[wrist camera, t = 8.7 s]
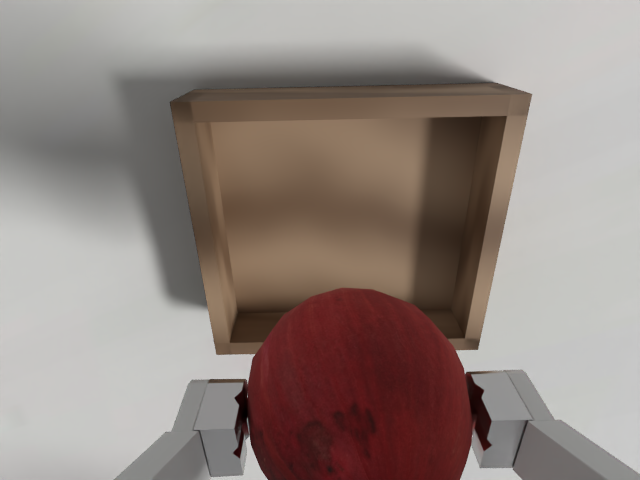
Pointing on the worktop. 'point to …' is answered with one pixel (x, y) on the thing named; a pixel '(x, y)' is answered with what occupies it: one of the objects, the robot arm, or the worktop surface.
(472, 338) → the walnut tray
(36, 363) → the worktop surface
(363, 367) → the onion
